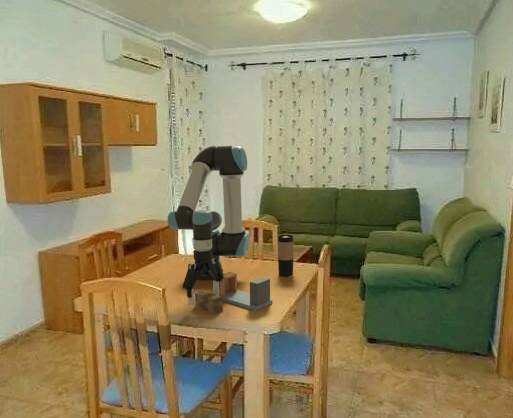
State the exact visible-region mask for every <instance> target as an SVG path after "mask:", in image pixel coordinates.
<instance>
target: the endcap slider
mask: <svg viewBox="0 0 513 418" xmlns="http://www.w3.org/2000/svg"><path fill="white" fill-rule="evenodd" d="M223 277H224V278H223V279H222V281H220V288H219V295H222V296H224V295H225V291H227V290H233V291H237V290H238V276H237V273H235V272H231V271H229V272H226V273H223Z"/></svg>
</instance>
